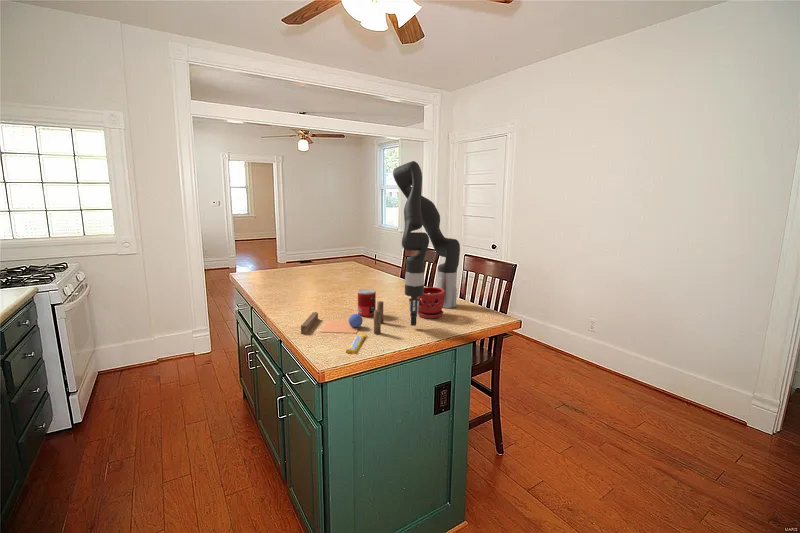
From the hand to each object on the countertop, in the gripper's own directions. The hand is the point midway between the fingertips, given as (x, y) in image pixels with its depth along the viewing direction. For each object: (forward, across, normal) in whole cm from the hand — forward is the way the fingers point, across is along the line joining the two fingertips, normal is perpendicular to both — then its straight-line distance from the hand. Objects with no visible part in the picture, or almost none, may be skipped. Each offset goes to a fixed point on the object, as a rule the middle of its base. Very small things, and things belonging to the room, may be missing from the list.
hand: (413, 325), depth 151 cm
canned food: (+2, -17, -21) cm, 27 cm away
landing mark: (+2, 0, -29) cm, 29 cm away
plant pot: (+2, -18, +7) cm, 19 cm away
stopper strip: (+2, 0, -42) cm, 42 cm away
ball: (-1, 0, -23) cm, 23 cm away
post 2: (+2, +6, -14) cm, 15 cm away
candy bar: (+2, +18, -20) cm, 27 cm away
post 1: (+2, -6, -14) cm, 15 cm away
